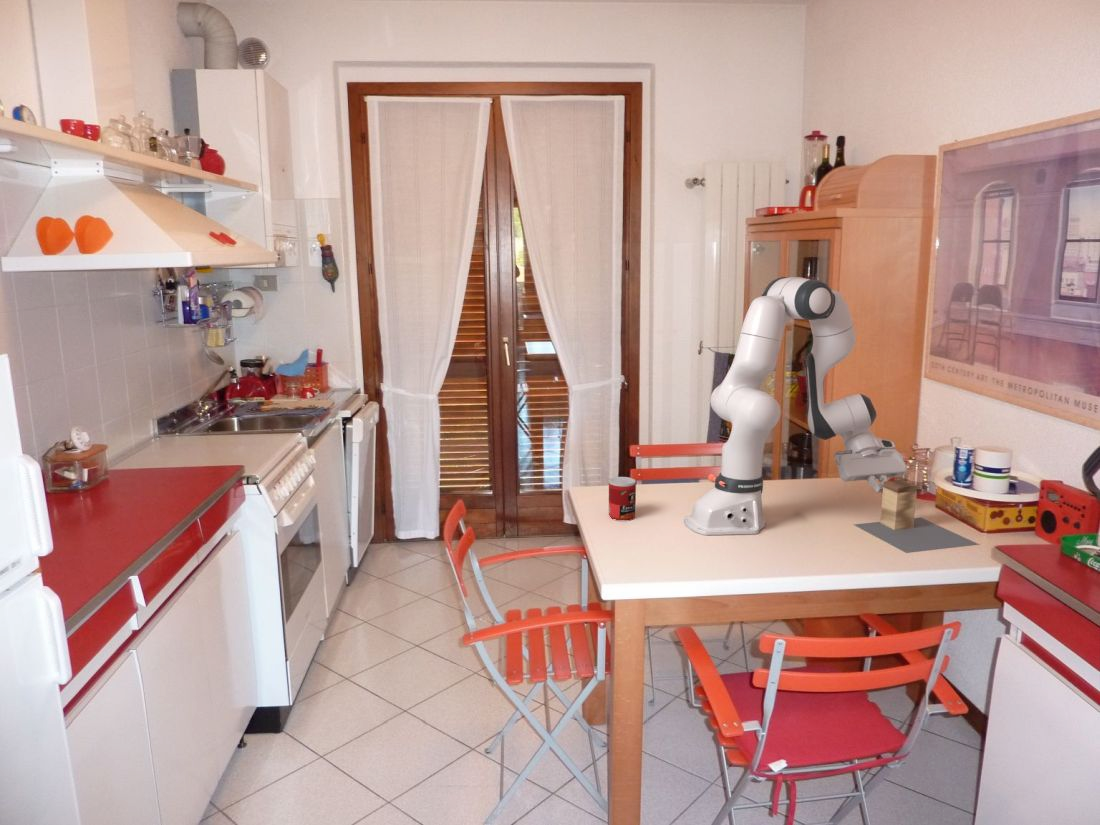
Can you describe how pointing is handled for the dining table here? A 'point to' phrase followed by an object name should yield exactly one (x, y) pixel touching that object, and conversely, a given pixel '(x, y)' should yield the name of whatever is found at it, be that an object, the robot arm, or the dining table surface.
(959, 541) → the rubber mat
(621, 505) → the canned food
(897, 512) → the maple block
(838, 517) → the dining table surface
